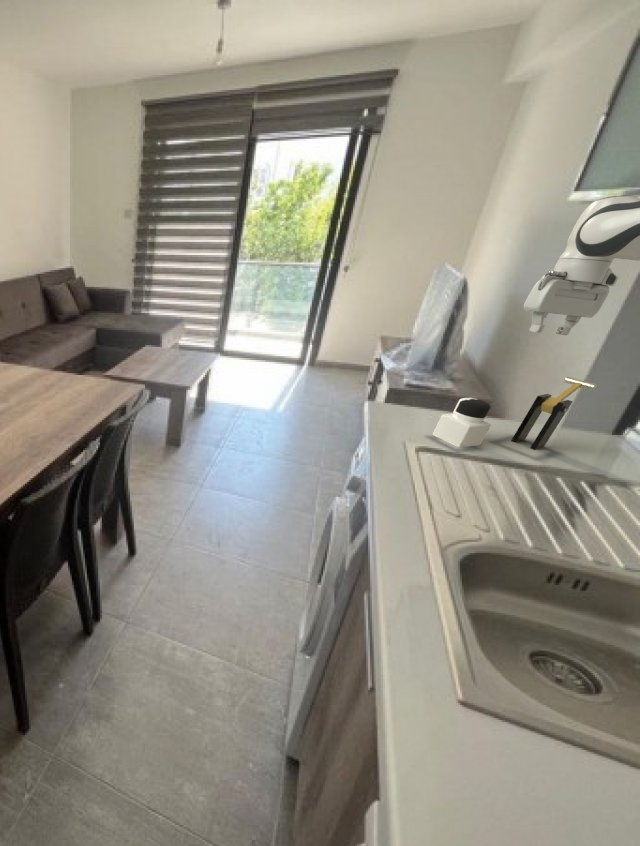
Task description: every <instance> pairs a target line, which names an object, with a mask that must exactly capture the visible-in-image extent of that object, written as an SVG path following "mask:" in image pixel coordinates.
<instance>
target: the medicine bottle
mask: <svg viewBox="0 0 640 846" xmlns="http://www.w3.org/2000/svg"><path fill="white" fill-rule="evenodd" d="M490 409H491V405H490V404H489V403H487V402H486V401H484V400H481V399H478V398H474V397H463V398H460V399H459V400H458V402H457V404H456V405H455V407H454V410H453V412H452V413H443V414H441V415H440V418H439V420H438V422H437V424H436V427H435V428H434V430H433V432H432V436H433V437H436V438H438V439H440V440H442V441H444V442H446V443H449V444H451V445H453V446H455V447H457V448H469V447H478V446H481V444H482V442H483V440H484V439H485V437H486V435H487V433H488V431H489V430H490V428H491V425H492V424H491V423H489V422H486V421H484V420H485V419H486V417H487V415H488V413H489V411H490Z"/></svg>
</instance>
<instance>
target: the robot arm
mask: <svg viewBox="0 0 640 846" xmlns="http://www.w3.org/2000/svg"><path fill="white" fill-rule="evenodd" d="M615 259H619V260H629V261H639V262H640V197H638V196H637V195H630V194H629V195H628V194H627V195H626V194H625V195H624V194H623V195H613V196H606V197H603V198H600V199H596V200H595V201H593V202H591V203H590V204H589V205H587V206H586V208H585V209H584V210H583V211H582V213H581V215H580V216H579V217H578V219H577V221H576V223H575V224H574V226H573V228H572V230H571V232H570V234H569V236H568V238H567V242H566V247H565V249H564V251H563V252H562V253H561V255H560V256H559V257H558V260H557V261H556V263H555V265H554V267H553V270H550V271H548V272H546V273H545V274H544V275H542V277H541V278H540V279H539V280H538V281H537V282H536V283H535V284H534V286H533V287H532V289H531V291H530V292H529V294H528V295H527V298H526V299H525V301H524V303H523V311H527V312H533V313H532V315H531V325H530V327H529V332H531V333H542V332H543V330H544V328H545V325H544V319H545V318H547V316H548V314H554V315H562V316H565V318H564V320H565V321H564V323H562V325H561V326H558V327H557V330H556V332H555V334H556V335H561V336H568V335H569V334H570V332H571V330H572V329H573V328H574V327H575V326H576V325H577V324H578V323H579V322H580V321H581V318H589V319H590V318H593V317H595V315H597V314H598V313H599V312H600V310H601V308H602V306H603V305H604V303H605V301H606V300H607V297H608V295H609V293H610V287H614V286H615V285H616V284H617V281H618V279H619V277H618V276H617V275H616V274H615V273H614V272H613V270H612V268H611V266H612V264H613V261H614V260H615Z"/></svg>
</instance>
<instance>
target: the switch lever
mask: <svg viewBox="0 0 640 846" xmlns="http://www.w3.org/2000/svg"><path fill="white" fill-rule="evenodd" d="M563 383H566V384H569V385H570V386H569V387H568V388H566V389H565V390H564V391H563V392H561V393H559V395H557V396H556V397H552V396H551V397H550V398H549V399H547V400H546V401H545V402H543V403H542V406H541V409H540V411H542V412H544V413H547V414H550V415H551V413H552V412H553V410H554V409H555V407H556V405H557V404H558V402H561V401H565V400H566V399H567V398H568V397H570V396H571V395H572V394H573V393H575V392H576V391H577V390H579V389H580V388H583V389H587V390H591V391H594V390H595V389H596V388H597V387H598V384H597V383H594V382H589V381H585V380H583V379H578V378H575V377H571V376H566V377H565V378H564V380H563Z"/></svg>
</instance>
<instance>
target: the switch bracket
mask: <svg viewBox="0 0 640 846" xmlns="http://www.w3.org/2000/svg"><path fill="white" fill-rule="evenodd" d="M552 396H553V395H552V394H549V393H544V394H539V395H537V396H536V398H535V399H534V400H533V403H532V404H531V406H530V408H529V409H528V411H527V413H526V415H525V416H524V417H523V420H522V422H521V423H520V425H519V426H518V428H517V430H516V432H515V433H514V435H513V436H512V438H511V440H510V442H512V443H515V444H516V443H520V442H524V441H526V439H527V437H528V435H529V434H530V432H531V430H532V428H533V427H534V425H535V424H536V422H537V421H538V419H539V417H540V416H541V414H542V412H543V411H540V409H541V406H542V403H543V402H545V401H546V400H547V399H549V398H550V397H552ZM572 404H573V400H570V399H564V400H563V401H561V402H558V404H557V405H556V407H555V409H554V410H553V412H552V413H551V414H550V415H549V416H548V418H547V419H546V421H545V423H544V425H543V426H542V428H541V429H540V431H539V433H538V434H537V436H536V438H535V439H534V441H533V442H532V444H531V446H530V449H531V450H533V451H536V450H539V449H543V448H545V446H546V445H547V443H548V442H549V440H550V438H551V437H552V435H553V434H554V432H555V430H556V429H557V427H558V426H559V424H560V422H561V421H562V419H563V418H564V416H565V415H566V414H567V412H568V411H569V409H570V406H571V405H572Z"/></svg>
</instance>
